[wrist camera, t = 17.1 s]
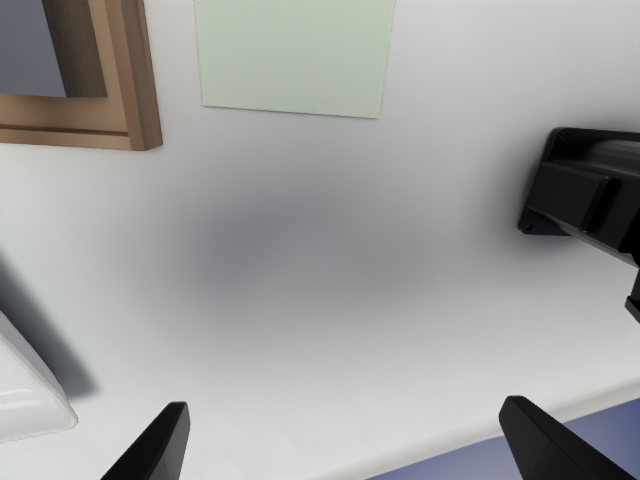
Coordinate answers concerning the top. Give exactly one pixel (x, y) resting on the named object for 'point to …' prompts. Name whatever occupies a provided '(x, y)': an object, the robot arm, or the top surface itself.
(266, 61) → the sage mat
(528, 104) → the top surface
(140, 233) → the top surface
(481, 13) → the top surface
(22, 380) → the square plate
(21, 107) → the walnut slot tray
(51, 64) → the gunmetal bar
